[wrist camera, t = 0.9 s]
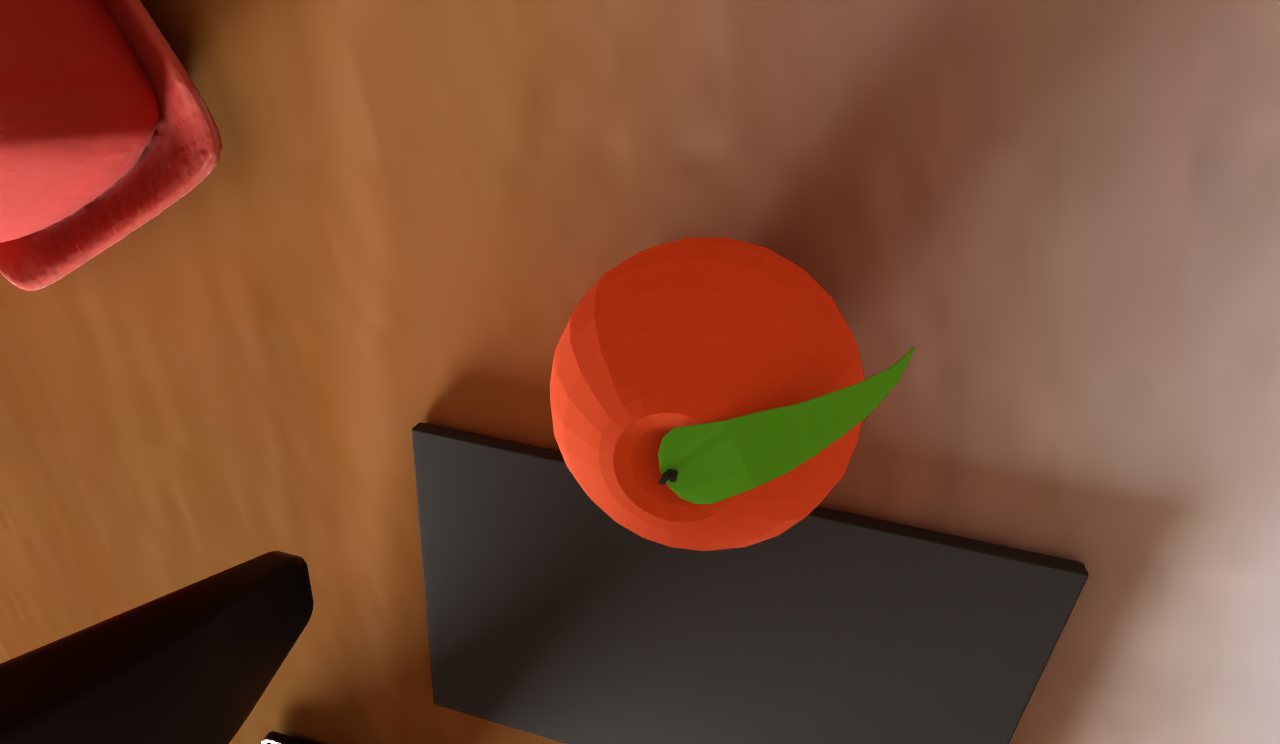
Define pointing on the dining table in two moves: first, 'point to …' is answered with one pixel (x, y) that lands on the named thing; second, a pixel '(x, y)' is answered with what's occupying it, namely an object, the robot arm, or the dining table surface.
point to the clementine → (710, 394)
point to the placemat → (717, 618)
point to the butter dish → (90, 132)
